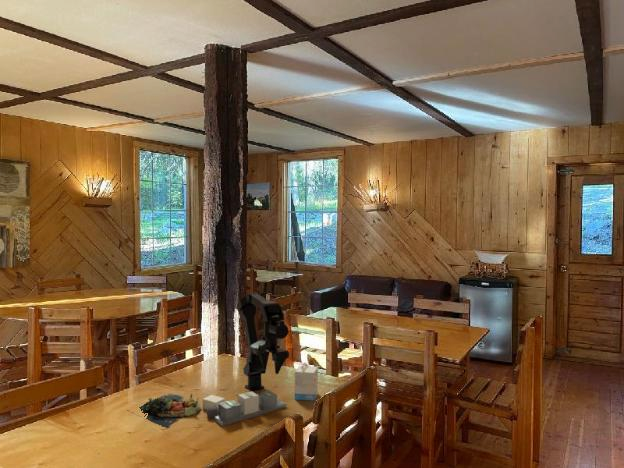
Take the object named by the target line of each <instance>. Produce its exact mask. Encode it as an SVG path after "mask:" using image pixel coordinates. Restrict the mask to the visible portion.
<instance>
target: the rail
mask: <svg viewBox="0 0 624 468" xmlns="http://www.w3.org/2000/svg"><path fill="white" fill-rule="evenodd" d="M255 393H256V392H255ZM256 394H257V395H259V411H257V412H253V413H250V414H246V415H244V414H243V413H241V405H240V404H239V403H238V401H237V400H236V401H235V400H234V399H231V400H225V402H222V403H219V404H218V416H215V418H214V421H215V422H216V423H217V424H218V425H219V426H220V427H225V426H228V425H231V424H235V423H238V422H242V421H245V420H248V419H252V418H254V417H255V418H256V417H258V416H262V415H265V414H268V413H271V412H275V411H279V410H283V409H285V408H287V402H285V401H283V400H281V399H280V398H278V394H276V393H274V392H273V391H271V390H270V389H269V390H263V391H260V392H257V393H256Z"/></svg>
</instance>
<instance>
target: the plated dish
mask: <svg viewBox="0 0 624 468" xmlns="http://www.w3.org/2000/svg"><path fill="white" fill-rule="evenodd" d="M158 397H159V398H158ZM158 397H155V398H151V397H150V398H148V401H146V402H145V403H146V404H144V405H143V406H141V407H139V408H140V409H141V411H142V410H143V412H142V413H144V414H145V413H148V416H147V418H146V419H148V420H149V421H148V420H147V421H148V422H151V423H153V424H155V425H157V424H158V426H160V425H161V426H160V427H162V428H164V427H166V428H165V429H170V428H171V427H172V425H173V424H175V423H177V422H178V421H179V420H181V419H182V418H184V417H191V416H193V415H196V414H198V413H200V412H201V410H202V405H201V404H200V403H199V397H197V398H194V397H193V393H190V398H189V399H188V400H185V399H184V396H181V395H178V394H173V393H167V394H164V395H161V396H158ZM156 398H157V399H156ZM146 415H147V414H146ZM146 415H145V416H146ZM145 416H144V417H145ZM146 419H145V420H146Z"/></svg>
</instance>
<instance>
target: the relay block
mask: <svg viewBox="0 0 624 468" xmlns="http://www.w3.org/2000/svg"><path fill="white" fill-rule="evenodd" d="M225 401H226V398H224V397H221V396H217V395H215V394H210V395H208V396H206V397H204V398H202V409H204V410H205V411H207V408H209V407H218V404H219V403H222V402H225Z"/></svg>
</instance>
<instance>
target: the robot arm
mask: <svg viewBox="0 0 624 468" xmlns="http://www.w3.org/2000/svg"><path fill="white" fill-rule="evenodd" d="M236 309H237V311H238V316H239V317H240V318H241V320H242V321H243V324H244V330H245V336H246V342H247V343H246V344H247V349H248V354H247V357H246V361H245V362H246V363H245V365H244V367H243V368H242V369H243V375H245V376H246V377H247V384H245V385H244V388H246V389H248V390H250V392H251V391H252V392H254V391H256V390H260V389H264V388H265V386H264V385H263V384H262V375H263V374H266V372H267V365H268V363H269V362H268V361H269V357H270V353H271V357H272V358H271V360H272V361H273V362H274V364H273V365H274V372H275V374H276V375H278V374H279V373H280V371H281V370H282V367H283V364H284V362H286V360H287V359H288V358H290V352H289V351H288V350H287V349H284V348H281V346H280V345H279V344H278V343H279V342H278V341H279V339H281V340H282V339H285V338H286V337H288V335H289V331H290V330H289V327H288V326H287V325H286V324H285V317H284V316H285V315H284V312H283V310H282V307H281V305H280V303H279V302H277V301H272V300H268V299H266V298H265V297H263V296H262V295H260V294H259V292H249V293H247V294H246V295H245V296H243V297H242V298H241V299H239V300H238V302H237V304H236ZM257 309H259V310H260V314H261V315H262V322H263V335H261V337H260V339H259V338H258V333H257V327H256V322H255V318H256V314H257Z"/></svg>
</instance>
